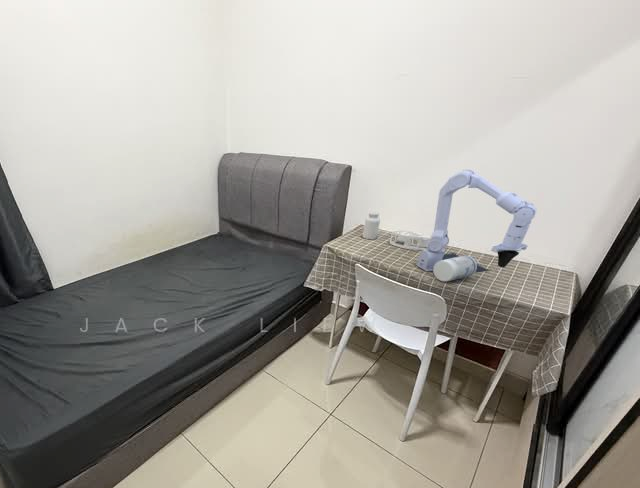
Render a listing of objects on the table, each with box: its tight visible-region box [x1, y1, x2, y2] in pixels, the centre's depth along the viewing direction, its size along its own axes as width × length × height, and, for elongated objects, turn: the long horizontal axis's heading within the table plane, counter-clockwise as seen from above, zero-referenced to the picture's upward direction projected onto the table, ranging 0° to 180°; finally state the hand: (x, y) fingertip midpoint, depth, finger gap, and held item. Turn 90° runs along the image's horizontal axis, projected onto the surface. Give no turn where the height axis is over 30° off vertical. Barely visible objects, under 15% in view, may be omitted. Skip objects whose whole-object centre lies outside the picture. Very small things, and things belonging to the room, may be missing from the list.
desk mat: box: [442, 253, 488, 273], centre depth 148 cm, size 16×20×1 cm
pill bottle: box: [362, 211, 381, 240], centre depth 178 cm, size 8×8×15 cm
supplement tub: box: [432, 255, 478, 282], centre depth 132 cm, size 10×10×15 cm
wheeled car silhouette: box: [389, 229, 432, 251], centre depth 167 cm, size 20×11×7 cm, turn 41°
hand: (501, 266), depth 125 cm, fingers closed
